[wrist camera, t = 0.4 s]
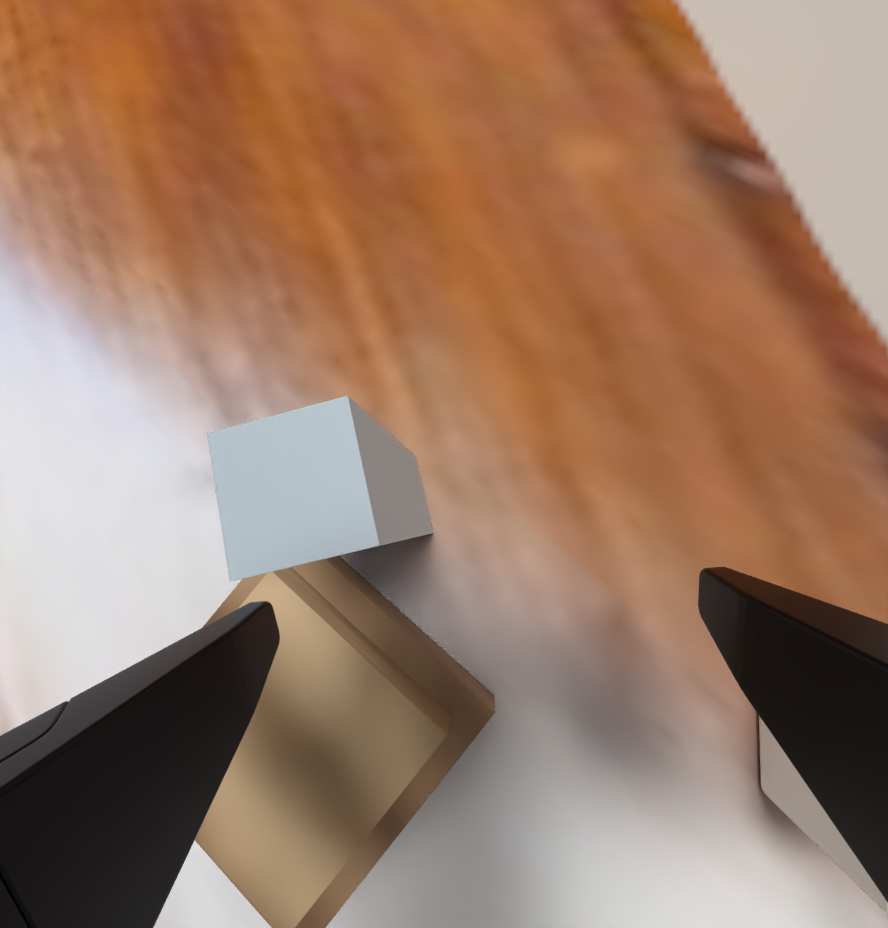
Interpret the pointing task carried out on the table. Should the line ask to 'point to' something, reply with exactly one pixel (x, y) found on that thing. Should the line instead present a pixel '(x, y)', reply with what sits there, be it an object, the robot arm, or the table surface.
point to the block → (313, 488)
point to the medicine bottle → (808, 812)
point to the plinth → (334, 742)
